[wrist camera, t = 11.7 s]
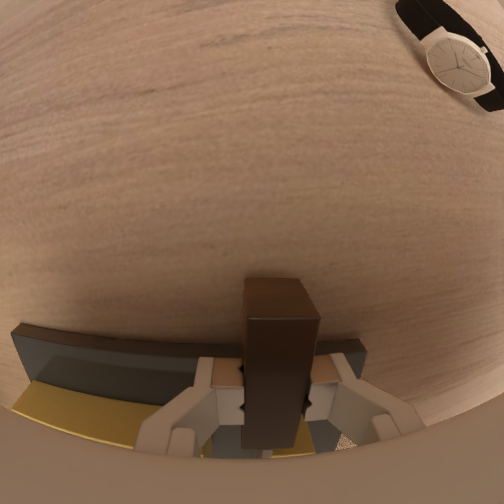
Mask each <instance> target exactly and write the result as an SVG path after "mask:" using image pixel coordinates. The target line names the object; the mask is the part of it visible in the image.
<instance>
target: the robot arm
mask: <svg viewBox="0 0 504 504" xmlns="http://www.w3.org/2000/svg"><path fill="white" fill-rule="evenodd" d="M306 392H307V394H306V398H305V401H304V406H303V411H302V415H303V419H304V421H316V420H326V419H328V421H329V422H330V423H332V424H333V425H334V426H335V427H336V428H337V429H338V430H340V431H341V432H342V433H343V434H344V435H346V436H347V437H348V438H349V439H350V440H352V441H353V442H354V443H355V444H356V445H358V446H357V447H352V448H347V449H342V450H336V451H330V452H324V453H317V454H309V455H301V456H291V457H278V458H259V459H217V458H201V455H200V450H199V449H200V448H201V447H202V446H203V445H204V444H205V442H206V441H207V440H208V439H209V438H210V437H211V435H212V434H213V433H214V432H215V431H216V429H217V428H218V427H219V425H244V373H243V358H218V357H215V358H214V357H200V358H199V359H198V364H197V370H196V375H195V380H194V385H193V387H188V388H187V389H185V390H184V391H183V392H182V393H180V394H179V395H178V396H176V397H175V398H174V399H172V400H171V401H170V402H168V403H167V404H166V405H164V406H163V407H162V408H160V409H159V410H158V411H156V412H155V413H153V414H152V415H151V416H149V417H148V418H147V419H145V420H144V421H142V423H141V426H140V429H139V432H138V435H137V438H136V441H135V444H134V447H133V449H129V448H124V447H119V446H114V445H110V444H106V443H102V442H98V441H94V440H90V439H87V438H83V437H80V436H76V435H73V434H70V433H67V432H64V431H61V430H58V429H55V428H52V427H49V426H47V425H44V424H41V423H39V422H36V421H34V420H31V419H29V418H26V417H24V416H22V415H19V414H17V413H15V412H13V411H11V410H9V409H6V408H4V407H2V406H0V504H504V393H502V394H500V395H498V396H496V397H494V398H492V399H491V400H489V401H487V402H485V403H483V404H481V405H479V406H476V407H474V408H472V409H470V410H468V411H466V412H463V413H461V414H459V415H457V416H454V417H452V418H449V419H447V420H444V421H442V422H439V423H437V424H434V425H431V426H428V427H426V426H425V424H424V423H423V421H422V420H421V418H420V416H419V415H418V413H417V412H416V410H415V409H414V407H413V406H412V405H410V404H408V403H406V402H404V401H402V400H400V399H398V398H396V397H394V396H392V395H390V394H388V393H387V392H385V391H383V390H381V389H379V388H377V387H375V386H373V385H371V384H369V383H367V382H366V381H364V380H362V379H358V380H357V378H356V376H355V374H354V372H353V371H352V369H351V367H350V365H349V363H348V361H347V360H346V358H345V356H344V354H343V353H333V354H328V355H316V356H314V359H313V364H312V370H311V375H310V376H309V379H308V385H307V390H306Z"/></svg>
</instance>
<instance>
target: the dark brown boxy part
mask: <svg viewBox="0 0 504 504" xmlns="http://www.w3.org/2000/svg"><path fill="white" fill-rule="evenodd" d="M320 319H321V317H320V315H319V313H318V311H317V309H316V308H315V306H314V304H313V302H312V300H311V299H310V297H309V295H308V293H307V291H306V290H305V288H304V286H303V284H302V283H301V281H300V279H298V278H245V279H244V295H243V326H242V358H243V373H244V425H241V448H242V449H243V450H254V453H253V459H259V458H272V452H273V449H283V448H293V447H294V444H295V440H296V436H297V432H298V428H299V424H300V420H301V416H302V411H303V406H304V401H305V398H306V394H307V392H306V390H307V385H308V379H309V376H310V375H311V370H312V364H313V359H314V354H315V348H316V343H317V337H318V331H319V325H320Z"/></svg>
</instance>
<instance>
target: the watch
mask: <svg viewBox="0 0 504 504" xmlns="http://www.w3.org/2000/svg"><path fill="white" fill-rule="evenodd" d="M395 7H396V11H397V13H398V15H399V17H400V18H401V20H402V21H403V22H404V23H405V25H406V26H407V27H408V28H409V29H410V30H411V32H412V33H413V34H414V35H415V36H416V37H417V38H418V39H419V40H420V42H419V43H420V44H421V45H423V46H424V47H425V51H426V57H427V63H428V65H429V67H430V70H431V72H432V73H433V74H434V76H435V77H436V78H437V79H438V80H439V81H440V82H441V83H442V84H443V85H445V86H446V87H448V88H450V89H452V90H454V91H456V92H459V93H462V94H465V95H466V94H468V95H469V97H470V98H474V99H475V100H476V102H477V103H478V104H479V105H480V106H481V107H482V108H484V109H485V110H486V111H488V112H493V111H497V110H503V109H504V72H503V70H502V68H501V67H500V65H499V63H498V62H497V60H496V58H495V57H494V55H493V54H492V52H491V51H490V50H489V48H488V47H487V45H486V44H485V43H484V41H483V40H482V38H481V36H479V35H478V34H477V33H476V31H475V30H474V29H473V28H472V27H471V26H470V25H469V24H468V23H467V22H466V21H465V20H464V19H463V18H462V17H461V16H460V15H459V14H458V13H457V12H456V11H454V10H453V9H452V8H451V7H450V6H449V5H448V4H446V3H445V2H444V1H443V0H399V1H398V2H397V3H396V5H395Z"/></svg>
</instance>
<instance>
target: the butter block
mask: <svg viewBox="0 0 504 504" xmlns="http://www.w3.org/2000/svg"><path fill="white" fill-rule="evenodd" d="M162 407H163V406H158V405H149V404H141V403H134V402H127V401H121V400H115V399H110V398H104V397H99V396H94V395H89V394H85V393H80V392H76V391H72V390H68V389H64V388H60V387H57V386H53V385H49V384H46V383H43V382H39V381H36V380H33V381H32V382H31V384H30V385H29V386H28V387H27V389H26V390H25V391H24V393H23V394H22V395H21V397H20V398H19V399H18V401H17V402H16V403H15V405H14V406H13V407H12V411H13V412H15V413H17V414H19V415H22V416H24V417H26V418H29V419H31V420H34V421H36V422H39V423H41V424H44V425H47V426H49V427H52V428H55V429H58V430H61V431H64V432H67V433H70V434H73V435H76V436H80V437H83V438H87V439H90V440H94V441H98V442H102V443H106V444H110V445H114V446H119V447H124V448H129V449H133V447H134V444H135V441H136V438H137V435H138V432H139V429H140V426H141V423H142V421H144V420H145V419H147V418H148V417H149V416H151V415H152V414H153V413H155V412H156V411H158V410H159V409H160V408H162ZM212 448H213V446H212V439H211V437H210V438H209V439H208V440H207V441H206V442H205V444H204V445H203V446H202V447H201V448H200V449H199V450H200V455H201V458H212Z"/></svg>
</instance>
